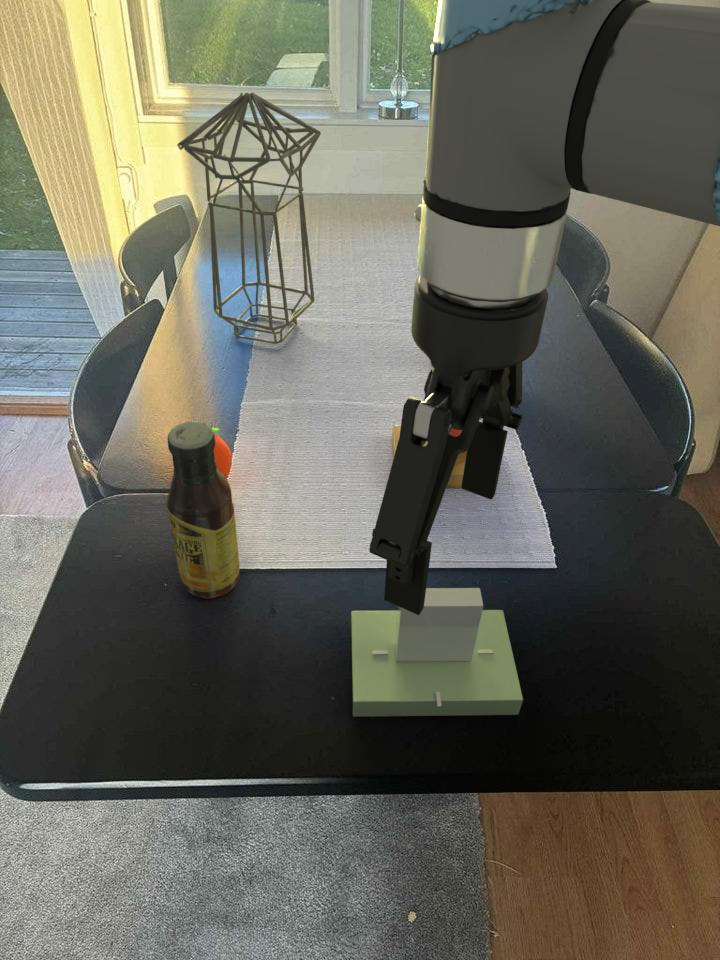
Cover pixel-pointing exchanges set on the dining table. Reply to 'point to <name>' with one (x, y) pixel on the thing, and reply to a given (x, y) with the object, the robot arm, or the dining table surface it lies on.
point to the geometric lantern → (228, 117)
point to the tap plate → (431, 673)
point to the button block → (459, 465)
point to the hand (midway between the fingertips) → (444, 543)
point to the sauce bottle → (201, 513)
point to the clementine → (222, 454)
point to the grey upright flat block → (440, 626)
